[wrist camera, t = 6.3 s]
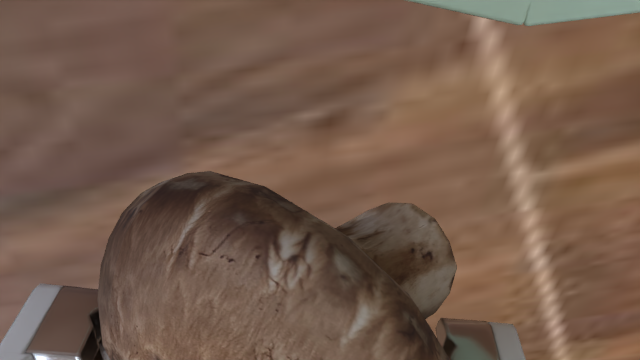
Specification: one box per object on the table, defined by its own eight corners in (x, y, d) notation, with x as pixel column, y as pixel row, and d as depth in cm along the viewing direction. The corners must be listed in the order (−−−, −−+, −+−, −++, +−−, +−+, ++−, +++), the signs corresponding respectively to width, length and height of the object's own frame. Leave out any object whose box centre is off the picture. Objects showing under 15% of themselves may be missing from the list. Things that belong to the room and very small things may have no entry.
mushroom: (656, 275, 8) (462, 735, 5) (456, 366, 15) (324, 587, 12) (264, -2, 10) (-60, 235, 7) (245, 196, 17) (81, 356, 14)
